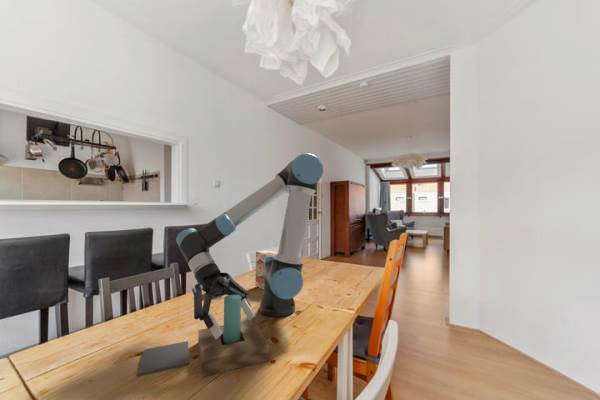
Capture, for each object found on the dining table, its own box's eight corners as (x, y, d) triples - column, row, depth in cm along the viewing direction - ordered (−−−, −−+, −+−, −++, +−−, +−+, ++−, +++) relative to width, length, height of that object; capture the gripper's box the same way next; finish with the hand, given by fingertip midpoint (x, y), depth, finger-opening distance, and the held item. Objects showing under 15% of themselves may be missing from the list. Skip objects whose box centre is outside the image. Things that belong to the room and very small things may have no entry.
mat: (188, 342, 80) (188, 341, 80) (188, 364, 69) (188, 362, 69) (144, 351, 75) (144, 349, 75) (136, 376, 64) (136, 373, 64)
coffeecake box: (254, 287, 137) (255, 251, 137) (264, 284, 142) (265, 249, 143) (274, 293, 127) (274, 254, 128) (283, 290, 133) (284, 253, 133)
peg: (238, 345, 79) (239, 293, 80) (241, 353, 75) (242, 299, 75) (222, 348, 77) (223, 295, 78) (224, 357, 72) (225, 301, 73)
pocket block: (253, 331, 88) (253, 320, 88) (269, 360, 71) (269, 346, 71) (198, 342, 80) (198, 329, 80) (201, 377, 64) (201, 361, 64)
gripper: (227, 268, 95) (257, 318, 87) (163, 285, 74) (194, 353, 65) (238, 256, 92) (270, 305, 84) (174, 269, 71) (209, 338, 63)
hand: (237, 326), depth 75 cm, fingers open, 13 cm apart
